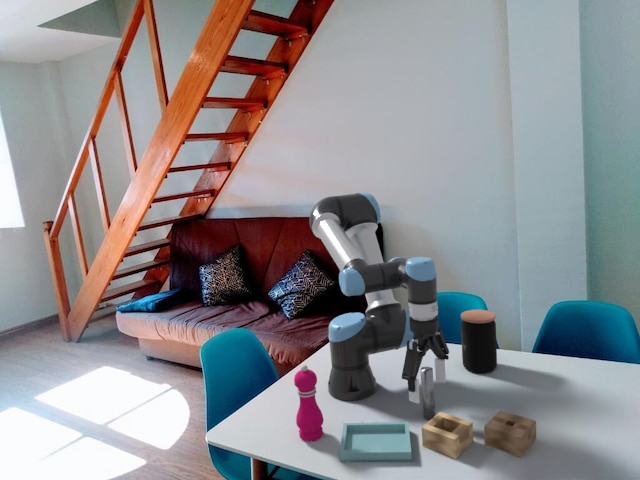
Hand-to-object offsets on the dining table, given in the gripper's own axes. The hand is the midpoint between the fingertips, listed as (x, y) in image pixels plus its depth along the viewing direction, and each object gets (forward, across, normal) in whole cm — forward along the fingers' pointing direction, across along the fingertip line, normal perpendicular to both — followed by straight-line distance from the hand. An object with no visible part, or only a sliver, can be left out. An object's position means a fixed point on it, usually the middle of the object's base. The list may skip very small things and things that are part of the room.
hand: (428, 391), depth 134 cm
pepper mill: (+8, -25, +21) cm, 34 cm away
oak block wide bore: (+8, -8, -10) cm, 15 cm away
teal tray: (+8, -19, +4) cm, 21 cm away
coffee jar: (+8, +35, +2) cm, 36 cm away
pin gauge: (+8, 0, 0) cm, 8 cm away
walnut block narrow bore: (+8, +1, -22) cm, 23 cm away
